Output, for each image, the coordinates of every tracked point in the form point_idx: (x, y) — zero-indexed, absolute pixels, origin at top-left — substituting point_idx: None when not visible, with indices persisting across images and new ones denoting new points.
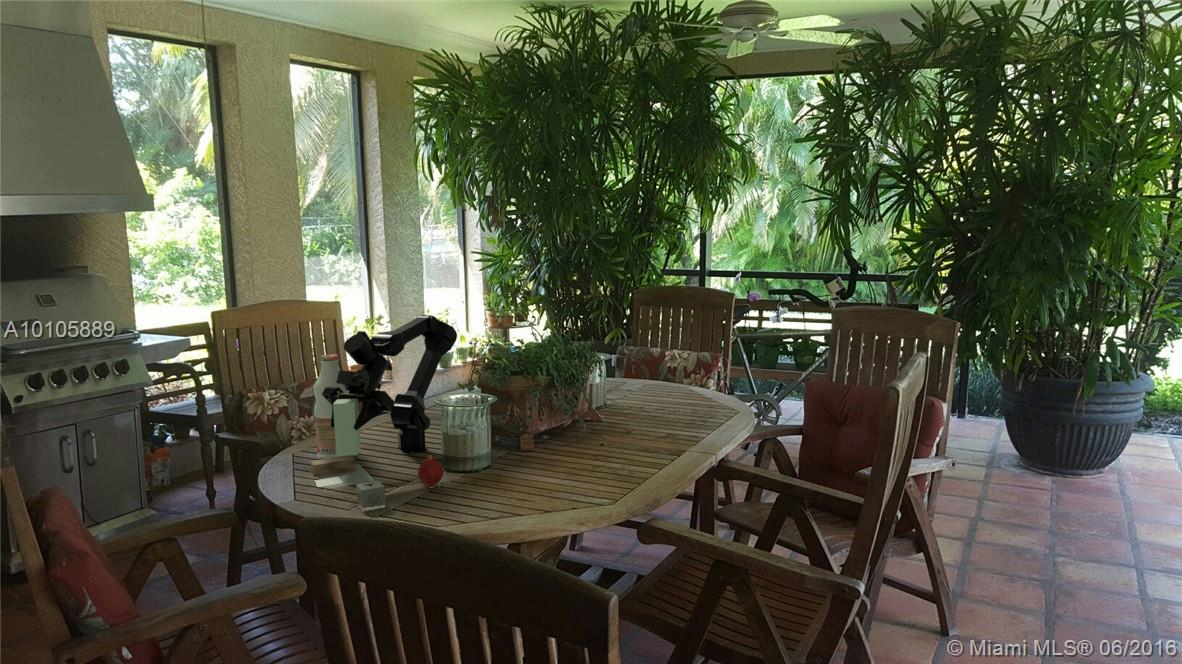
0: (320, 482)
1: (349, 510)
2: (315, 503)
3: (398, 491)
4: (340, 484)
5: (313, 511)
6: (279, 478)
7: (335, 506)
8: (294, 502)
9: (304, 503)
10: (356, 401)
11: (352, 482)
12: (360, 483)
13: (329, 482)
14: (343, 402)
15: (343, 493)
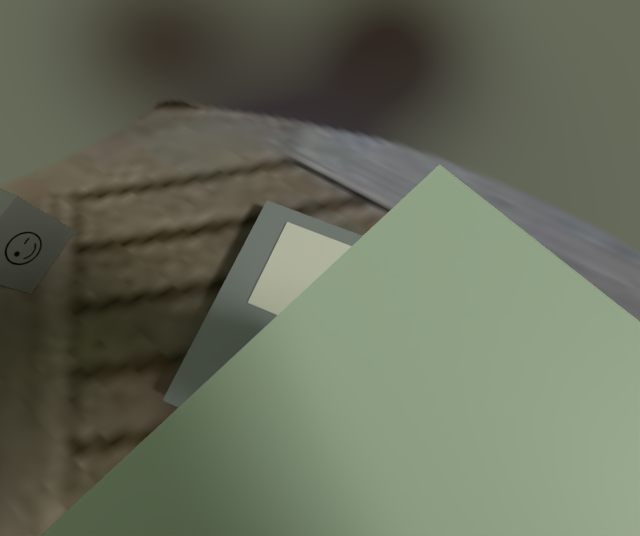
0: (327, 258)
1: (69, 195)
2: (210, 174)
3: (35, 406)
4: (246, 288)
5: (161, 138)
6: (544, 242)
7: (134, 192)
8: (273, 147)
9: (240, 158)
10: None
11: (225, 329)
12: (5, 208)
13: (298, 276)
14: (372, 409)
15: (208, 274)
